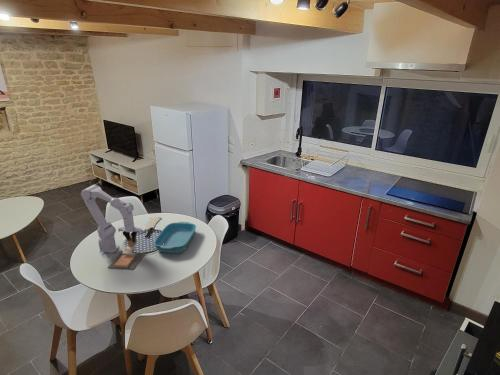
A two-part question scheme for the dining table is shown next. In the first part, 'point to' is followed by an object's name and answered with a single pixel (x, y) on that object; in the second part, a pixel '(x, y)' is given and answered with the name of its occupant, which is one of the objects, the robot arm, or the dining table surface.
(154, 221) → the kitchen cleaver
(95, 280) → the dining table surface
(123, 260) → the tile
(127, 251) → the tall cardboard box
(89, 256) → the dining table surface
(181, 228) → the casserole dish
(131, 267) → the mat
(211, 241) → the dining table surface
